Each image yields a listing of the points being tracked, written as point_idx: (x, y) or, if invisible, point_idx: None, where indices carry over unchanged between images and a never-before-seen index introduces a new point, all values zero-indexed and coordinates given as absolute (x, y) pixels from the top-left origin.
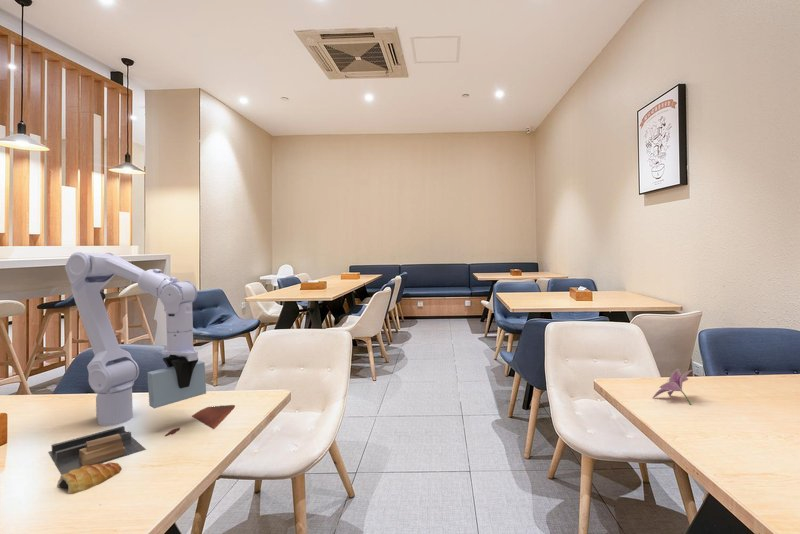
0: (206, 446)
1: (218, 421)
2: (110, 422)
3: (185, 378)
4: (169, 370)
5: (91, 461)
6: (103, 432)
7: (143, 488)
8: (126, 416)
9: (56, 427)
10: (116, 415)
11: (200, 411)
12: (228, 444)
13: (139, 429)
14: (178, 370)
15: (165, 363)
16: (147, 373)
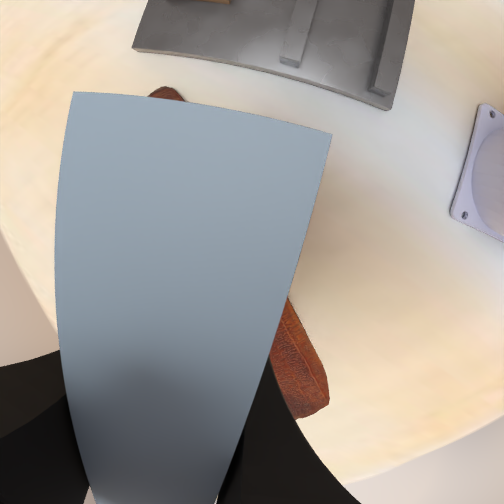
0: (37, 185)
1: None
2: (496, 137)
3: None
4: (61, 351)
5: None
6: (390, 21)
7: (12, 4)
8: (485, 188)
9: None
10: (500, 153)
11: (303, 369)
12: (12, 222)
13: (389, 170)
14: (4, 368)
15: (345, 496)
16: (320, 132)
